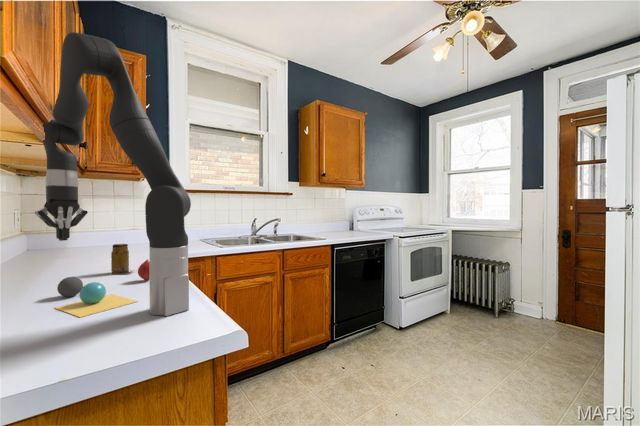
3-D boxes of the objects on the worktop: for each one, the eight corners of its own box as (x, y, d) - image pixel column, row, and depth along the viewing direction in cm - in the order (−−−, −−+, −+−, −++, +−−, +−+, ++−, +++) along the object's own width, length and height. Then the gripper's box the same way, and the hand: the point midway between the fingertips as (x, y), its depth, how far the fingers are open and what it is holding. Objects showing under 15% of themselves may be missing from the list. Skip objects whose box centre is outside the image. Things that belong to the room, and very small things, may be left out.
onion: (134, 281, 107) (133, 260, 107) (147, 278, 112) (147, 257, 112) (146, 283, 105) (146, 261, 105) (159, 279, 111) (159, 258, 110)
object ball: (95, 287, 87) (101, 305, 85) (71, 291, 81) (78, 310, 80) (106, 277, 86) (113, 295, 84) (84, 279, 80) (90, 298, 78)
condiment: (115, 271, 124) (115, 243, 124) (137, 270, 126) (137, 243, 126) (106, 275, 117) (106, 245, 117) (129, 274, 119) (129, 245, 118)
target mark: (137, 301, 84) (137, 301, 84) (80, 317, 72) (80, 316, 72) (111, 294, 91) (111, 294, 91) (54, 308, 79) (54, 307, 79)
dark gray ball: (73, 283, 93) (79, 298, 92) (50, 286, 88) (56, 302, 86) (83, 271, 92) (90, 287, 90) (60, 274, 86) (67, 290, 85)
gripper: (81, 187, 98) (82, 237, 99) (28, 184, 87) (29, 241, 87) (93, 186, 95) (93, 239, 95) (39, 183, 83) (40, 243, 84)
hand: (62, 240), depth 91 cm, fingers closed
